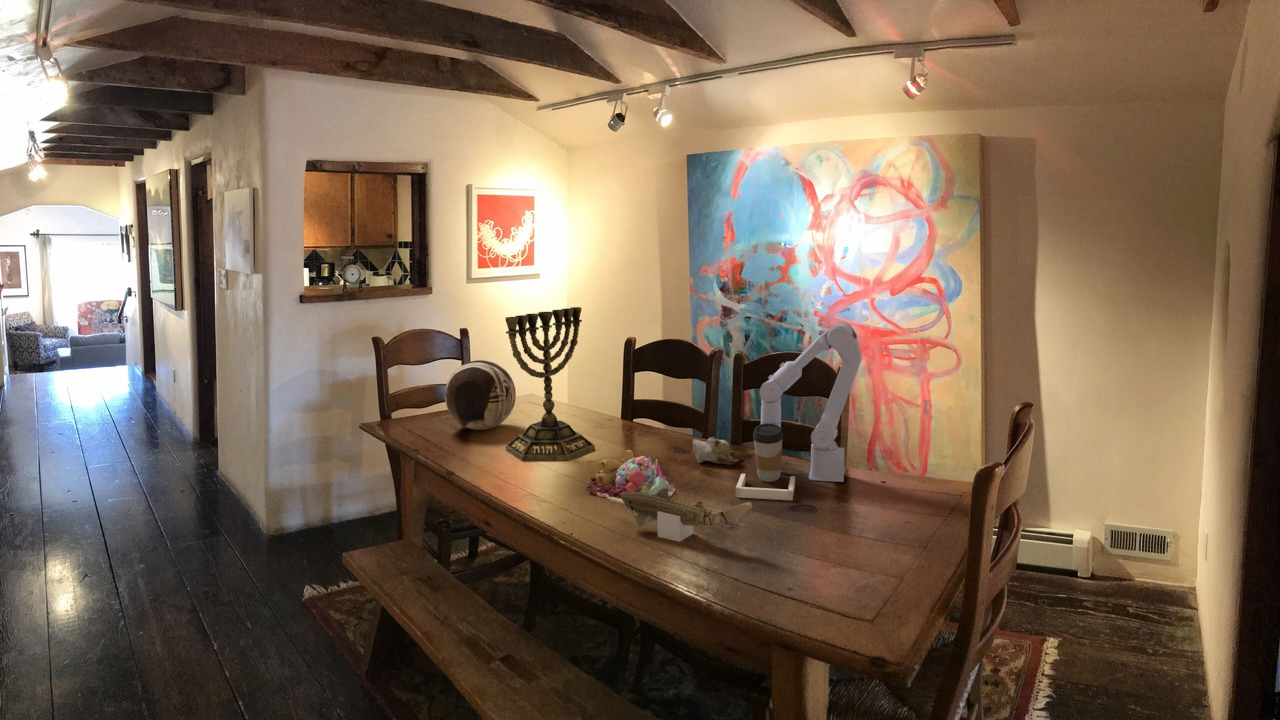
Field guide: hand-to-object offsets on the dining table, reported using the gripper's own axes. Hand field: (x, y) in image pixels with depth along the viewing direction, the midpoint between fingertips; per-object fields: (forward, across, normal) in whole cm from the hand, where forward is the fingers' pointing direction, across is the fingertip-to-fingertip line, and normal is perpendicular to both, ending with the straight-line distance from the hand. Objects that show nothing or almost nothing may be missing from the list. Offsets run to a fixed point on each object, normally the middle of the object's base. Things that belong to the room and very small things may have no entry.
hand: (770, 467), depth 240 cm
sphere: (+3, -35, -106) cm, 112 cm away
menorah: (+2, -12, -72) cm, 73 cm away
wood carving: (+2, +54, -15) cm, 56 cm away
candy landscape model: (+2, +21, -36) cm, 42 cm away
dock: (+2, +16, 0) cm, 17 cm away
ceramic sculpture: (+2, -8, -17) cm, 19 cm away
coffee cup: (+1, +6, 0) cm, 6 cm away
